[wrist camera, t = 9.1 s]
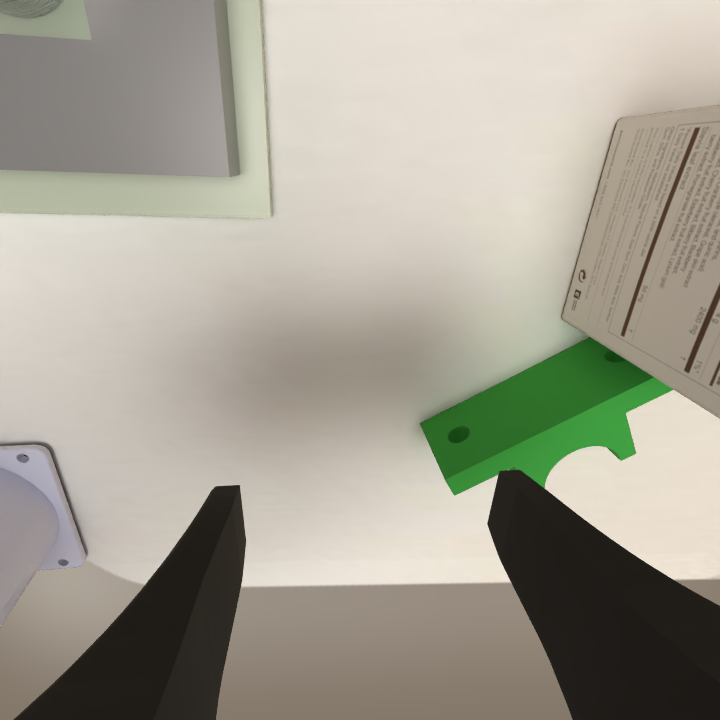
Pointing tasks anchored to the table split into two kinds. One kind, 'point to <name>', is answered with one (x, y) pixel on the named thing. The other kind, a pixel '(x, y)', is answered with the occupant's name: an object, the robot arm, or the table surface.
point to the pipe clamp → (542, 417)
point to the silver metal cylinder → (28, 7)
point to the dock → (135, 110)
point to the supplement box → (657, 252)
